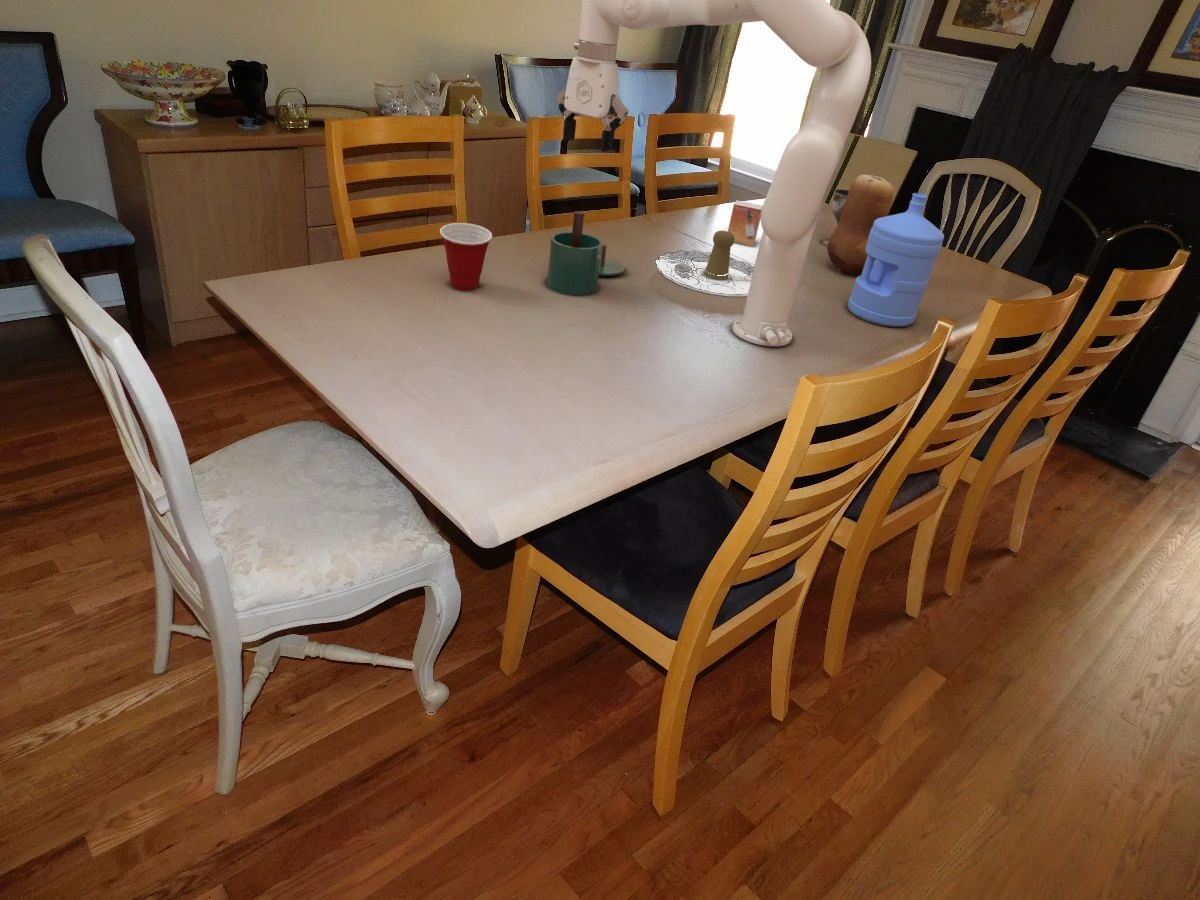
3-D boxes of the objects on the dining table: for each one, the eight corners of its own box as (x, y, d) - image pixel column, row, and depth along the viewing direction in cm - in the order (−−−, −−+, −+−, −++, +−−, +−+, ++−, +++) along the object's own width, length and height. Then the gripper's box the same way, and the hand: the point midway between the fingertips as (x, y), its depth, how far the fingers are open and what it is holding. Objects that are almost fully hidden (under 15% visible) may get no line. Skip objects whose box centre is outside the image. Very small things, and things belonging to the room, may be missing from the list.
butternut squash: (881, 276, 207) (913, 182, 194) (854, 283, 199) (885, 185, 186) (838, 260, 215) (866, 168, 202) (811, 266, 207) (837, 171, 194)
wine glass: (815, 240, 230) (829, 189, 222) (836, 239, 233) (850, 189, 225) (832, 249, 224) (847, 197, 216) (853, 248, 227) (869, 197, 219)
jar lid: (628, 280, 181) (631, 254, 178) (576, 276, 179) (579, 250, 175) (619, 262, 191) (622, 237, 188) (570, 258, 189) (572, 234, 185)
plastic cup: (445, 296, 159) (445, 239, 153) (434, 277, 168) (434, 222, 161) (495, 294, 163) (498, 239, 157) (483, 276, 172) (485, 222, 165)
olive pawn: (727, 273, 194) (736, 230, 188) (728, 281, 189) (738, 237, 183) (703, 269, 194) (712, 226, 188) (704, 277, 189) (713, 233, 183)
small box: (725, 241, 218) (733, 203, 212) (728, 236, 222) (736, 199, 217) (752, 246, 216) (761, 209, 210) (755, 241, 221) (764, 205, 215)
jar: (600, 296, 170) (606, 250, 164) (549, 293, 168) (553, 246, 162) (593, 278, 179) (598, 233, 174) (544, 275, 177) (548, 230, 171)
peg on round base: (585, 284, 174) (593, 213, 165) (573, 288, 171) (581, 216, 162) (570, 278, 176) (577, 208, 167) (558, 282, 173) (565, 211, 164)
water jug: (899, 305, 189) (939, 190, 174) (923, 331, 176) (970, 209, 161) (838, 299, 187) (873, 182, 173) (858, 324, 174) (899, 200, 159)
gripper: (550, 45, 149) (543, 137, 158) (622, 60, 142) (610, 156, 151) (573, 45, 155) (565, 135, 164) (644, 60, 147) (631, 153, 156)
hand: (587, 145), depth 157 cm, fingers open, 9 cm apart
